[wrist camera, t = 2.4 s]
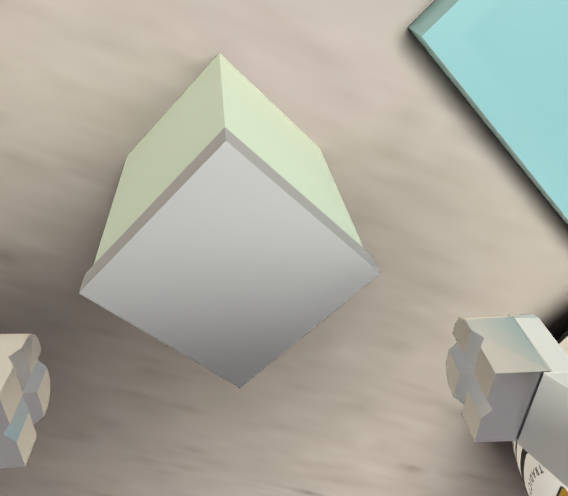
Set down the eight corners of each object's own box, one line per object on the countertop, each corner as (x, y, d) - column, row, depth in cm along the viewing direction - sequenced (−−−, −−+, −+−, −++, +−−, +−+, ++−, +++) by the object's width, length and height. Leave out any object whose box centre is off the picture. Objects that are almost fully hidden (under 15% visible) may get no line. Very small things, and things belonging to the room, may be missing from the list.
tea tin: (230, 236, 22) (239, 387, 15) (122, 156, 20) (78, 293, 13) (323, 148, 20) (380, 273, 14) (218, 48, 18) (225, 140, 11)
